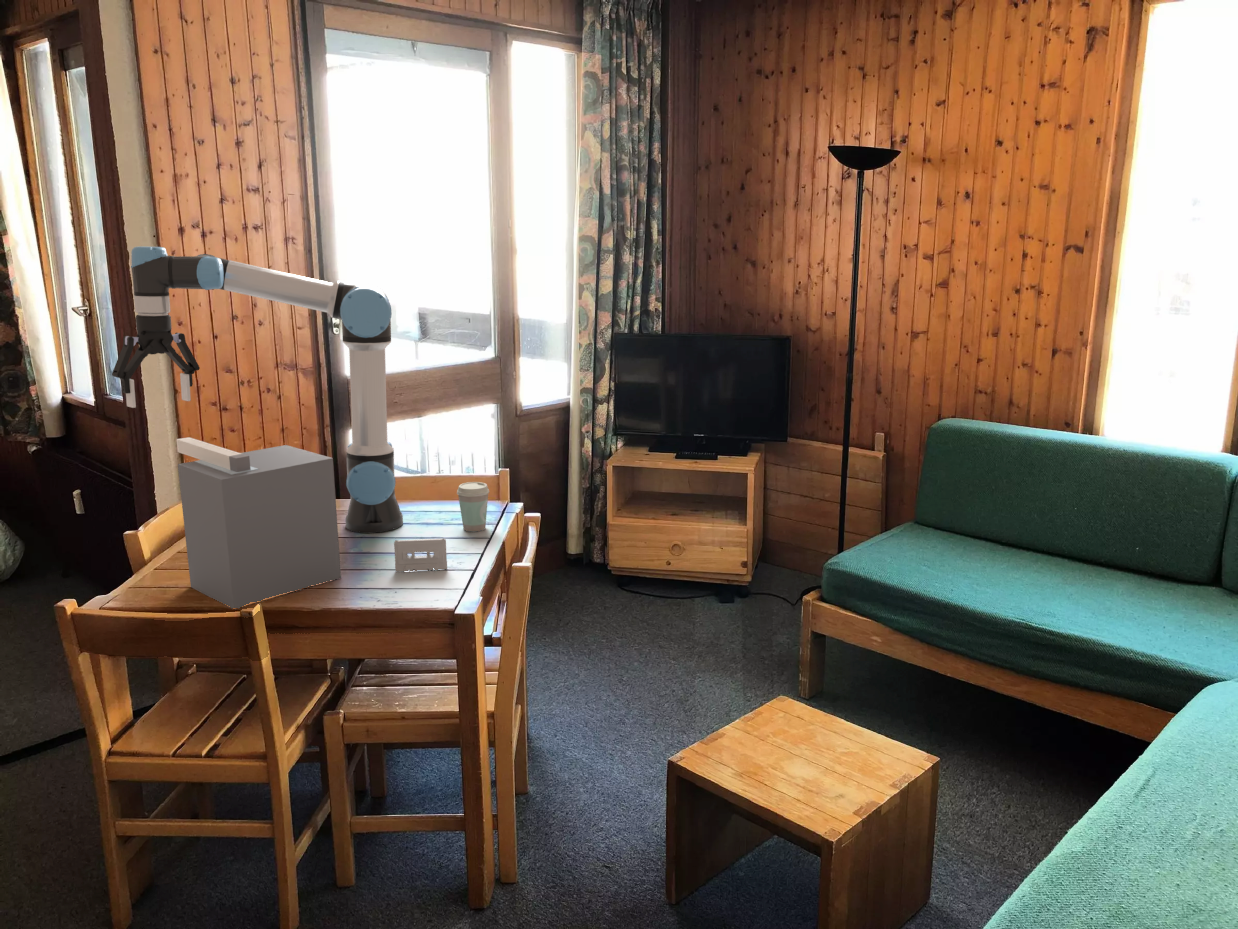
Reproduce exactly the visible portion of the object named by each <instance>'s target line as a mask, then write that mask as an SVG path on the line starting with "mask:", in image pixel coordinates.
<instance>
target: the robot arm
mask: <svg viewBox="0 0 1238 929" xmlns="http://www.w3.org/2000/svg"><path fill="white" fill-rule="evenodd" d="M130 268H131V274H132V286H133V298H134V300H133V301H134V302H133V303H134V312H135V313H137V314H136V315H135V326H136V328H135V329H136V336H129V335H125V336H123V338H122V340H123V342H122V344H123V345H122V347H121V350H120V353H119V355H118V357H117V360H116V363H115V365H114V368H113V370H112V372H111V376H112V377H115V378H117V379H120V381H121V392H122V393H123V394H125V399H126V400H125V402H126V407H129V408H132V409H134V408H135V409H136V408H137V405H136V404H137V403H136V392H135V380H134V379H132V376H133V375H134V373H135V372H136V370H137V369H138V368H139V367H140V365H141V364H142V362H143V361H144V359H145V358H146V357H148V356H149V355H157V354H160V355H163V354H166V355H167V356H168V357H169V359H171V360H172V361H173V363H175V364H176V366H178V368H179V369H180V370H181V371H182V372H181V373H180V374H179V376H180V378H179V379H180V390H181V401H185V402H191V400H192V399H191V387H193V385H194V384H193V382H194V381H193V374H195V372H196V371H199V370H200V365H199V364H198V362H197V360H196V358H195V356H194V355H193V353H192V350H191V349H190V347H189V345H188V344H187V340H186V335H185V334H184V333H182V332H175V333H174V334H172V316H171V315H170V314H169V313H171V300H170V299H171V298H170V289H175V290H177V289H180V290H181V289H185V290H205V291H209V290H221V291H222V290H223V291H227V292H232V293H236V294H240V295H245V296H250V297H255V298H258V299H259V298H260V299H264V300H268V301H273V302H277V303H281V304H287V305H292V306H296V307H301V308H304V309H309V310H314V311H318V312H323V313H326V314H328V315H329V316H330V317H331V318H332V319H337V320H340V321H341V333H342V334H341V335H342V343H343V344H344V345H345V346H347V348H348V349H349V351H348V352H349V353H348V354H349V379H350V380H349V382H350V383H349V384H350V404H351V405H350V410H351V412H350V413H351V415H350V416H351V438H352V439H351V440H352V443H350V444H348V446H347V449H346V473H347V474H346V481H345V482H346V483H345V486H346V488H347V491H348V493H349V494H350V501H349V504H348V505H349V506H348V510H347V515H346V516H345V519H344V520H345V528H346V529H347V530H348V531H351V532H354V533H360V534H361V533H364V534H366V533H367V534H372V533H373V534H374V533H382V532H383V533H384V532H388V531H392V530H395V529H398V528H400V527H402V525H403V524H404V514H403V512H402V511H401V509H400V506H399V502H398V500H397V498H396V491H395V488H396V483H397V482H396V477H395V452H394V451H395V449H394V447H393V445H392V443H391V442H389V441H388V412H387V378H386V377H387V375H386V374H387V373H386V372H387V371H386V370H387V368H386V348H387V347H388V346H389V345H390V344H391V343H392V328H391V327H392V322H391V318H392V306H391V302H390V300H389V298H388V296H387V294H386V293H385V292H384V291H383V289H381V288H379V287H378V286H376V285H373V284H369V283H355V282H354V283H353V282H348V281H342V280H337V281H335V282H328V281H325V280H321V279H320V280H319V279H317V278H311V277H306V276H302V275H298V274H294V273H288V272H285V271H284V272H283V271H279V270H275V269H271V268H266V267H263V266H262V267H261V266H257V265H254V264H253V265H252V264H247V263H244V262H239V261H235V260H229V259H226V258H221V257H217V256H215V255H212V254H208V253H202V254H198V255H195V256H192V255H190V256H187V255H185V256H184V255H183V256H182V255H181V256H175V255H168V253H167V249H166V248H165V247H164V246H142V245H141V246H134V247H133V248H132V249H131V266H130ZM173 342H174V343H175V344H176V346H177V347H178V349H179V351H180V353H181V355H182V357H183V358H184V359H183V358H182V357H181V355H179V353H177V351H176V349H175V348H174V347H173V346H172V345H171V344H172V343H173ZM136 343H137V345H138V347H137V349H136V350H135V353H134V354H133V356H132V357H131V355H132V352H133V350H134V347H135V345H136ZM130 357H131V359H130Z"/></svg>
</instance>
